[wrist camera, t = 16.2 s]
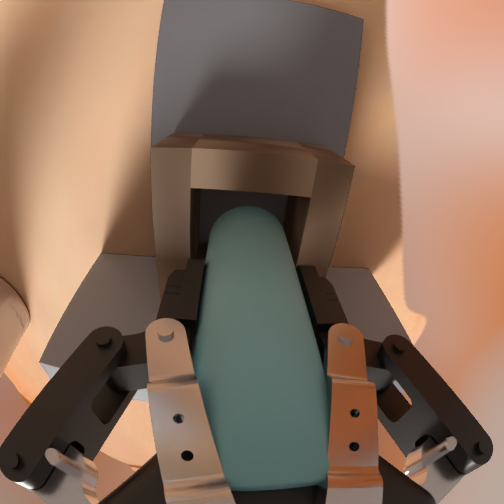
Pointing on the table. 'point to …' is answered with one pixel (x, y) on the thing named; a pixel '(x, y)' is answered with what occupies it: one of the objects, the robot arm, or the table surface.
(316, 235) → the block
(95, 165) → the table surface
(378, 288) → the backstop wall
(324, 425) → the teal rounded bar piece
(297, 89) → the rail plate
